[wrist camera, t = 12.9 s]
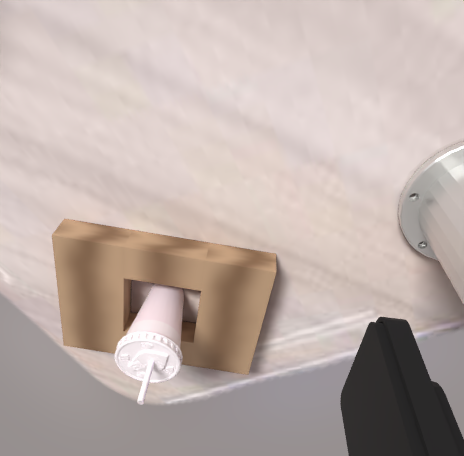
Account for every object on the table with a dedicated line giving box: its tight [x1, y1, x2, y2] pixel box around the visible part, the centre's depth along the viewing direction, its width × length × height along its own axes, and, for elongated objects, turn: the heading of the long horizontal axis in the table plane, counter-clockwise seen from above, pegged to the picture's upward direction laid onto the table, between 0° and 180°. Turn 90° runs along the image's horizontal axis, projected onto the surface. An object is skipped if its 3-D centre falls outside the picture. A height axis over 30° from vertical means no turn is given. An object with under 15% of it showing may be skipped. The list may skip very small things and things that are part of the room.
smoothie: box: [115, 283, 184, 404], centre depth 41 cm, size 6×6×14 cm
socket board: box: [52, 219, 276, 375], centre depth 46 cm, size 22×16×3 cm
